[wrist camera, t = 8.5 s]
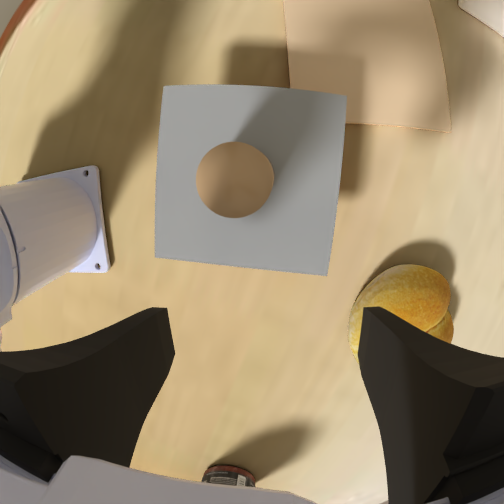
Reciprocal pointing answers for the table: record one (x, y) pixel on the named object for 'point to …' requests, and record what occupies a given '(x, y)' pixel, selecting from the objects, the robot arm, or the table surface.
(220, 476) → the supplement bottle
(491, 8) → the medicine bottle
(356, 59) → the mat
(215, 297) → the table surface
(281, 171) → the lid
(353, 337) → the bread roll
